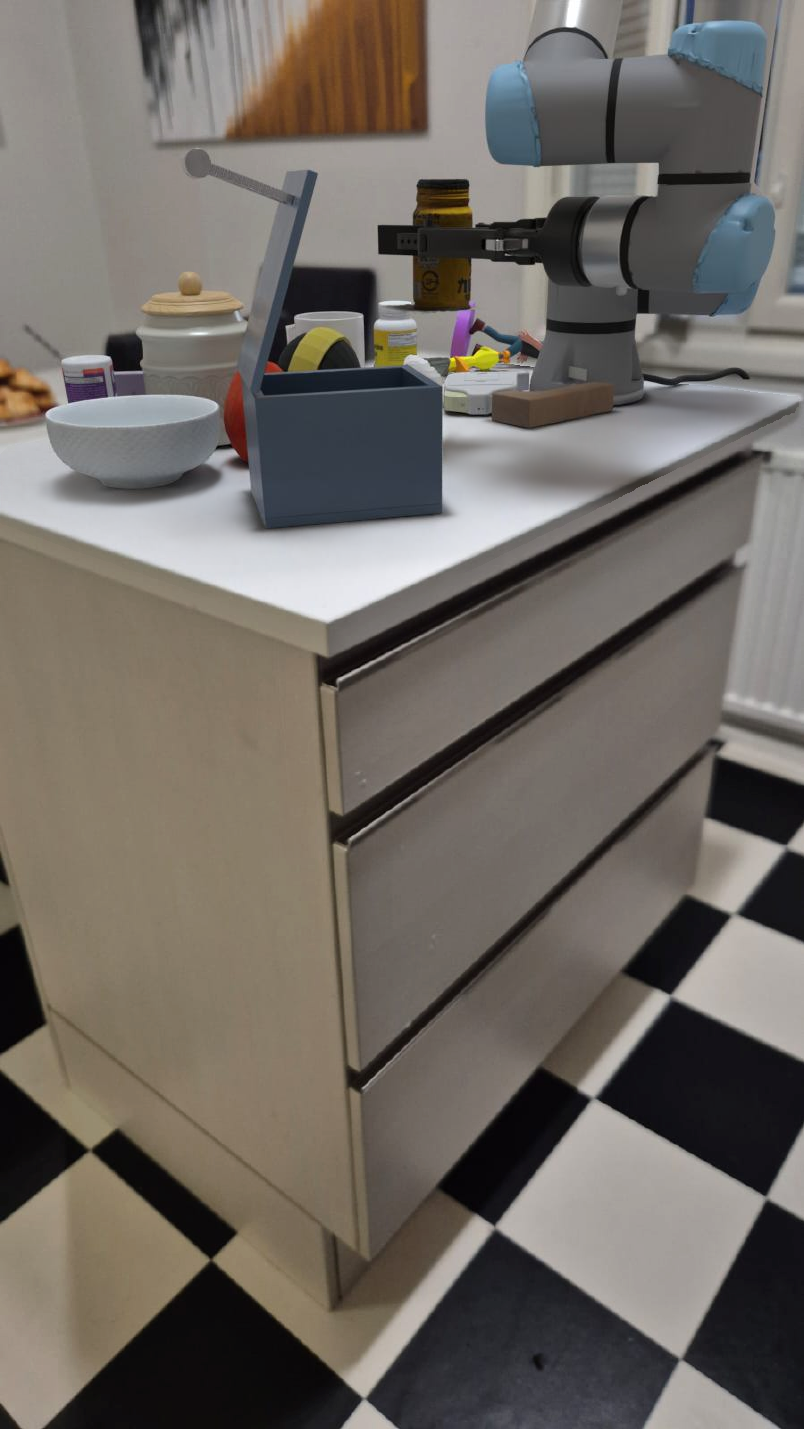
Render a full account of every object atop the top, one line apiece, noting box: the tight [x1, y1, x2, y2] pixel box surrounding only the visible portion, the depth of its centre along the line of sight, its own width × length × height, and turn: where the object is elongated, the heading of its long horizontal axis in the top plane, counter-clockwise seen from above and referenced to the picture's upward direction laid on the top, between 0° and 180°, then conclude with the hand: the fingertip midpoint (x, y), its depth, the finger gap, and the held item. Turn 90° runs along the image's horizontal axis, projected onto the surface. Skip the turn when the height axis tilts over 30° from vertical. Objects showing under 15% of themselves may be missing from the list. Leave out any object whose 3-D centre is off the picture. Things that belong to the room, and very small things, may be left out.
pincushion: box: [404, 354, 446, 387], centre depth 131 cm, size 12×6×6 cm
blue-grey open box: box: [241, 365, 444, 530], centre depth 89 cm, size 16×12×11 cm
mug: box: [284, 311, 366, 368], centre depth 130 cm, size 12×9×11 cm
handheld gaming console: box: [443, 370, 530, 415], centre depth 130 cm, size 11×3×15 cm
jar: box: [135, 271, 248, 447], centre depth 112 cm, size 13×13×18 cm
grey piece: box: [373, 356, 450, 378], centre depth 150 cm, size 12×2×5 cm
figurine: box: [449, 301, 544, 364], centre depth 155 cm, size 9×9×18 cm
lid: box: [181, 147, 319, 393], centre depth 80 cm, size 17×12×9 cm
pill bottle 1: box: [60, 354, 118, 404], centre depth 110 cm, size 5×5×10 cm
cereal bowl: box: [44, 395, 221, 490], centre depth 98 cm, size 17×17×7 cm
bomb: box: [277, 327, 361, 372], centre depth 119 cm, size 11×11×15 cm
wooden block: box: [491, 382, 614, 429], centre depth 123 cm, size 7×3×15 cm
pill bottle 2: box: [373, 300, 418, 367], centre depth 142 cm, size 6×6×11 cm
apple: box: [223, 360, 283, 464], centre depth 104 cm, size 8×8×11 cm
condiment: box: [382, 178, 488, 315], centre depth 100 cm, size 7×8×12 cm
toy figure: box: [447, 345, 511, 374], centre depth 151 cm, size 7×4×12 cm
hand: (401, 238), depth 103 cm, fingers closed on condiment, 6 cm apart
